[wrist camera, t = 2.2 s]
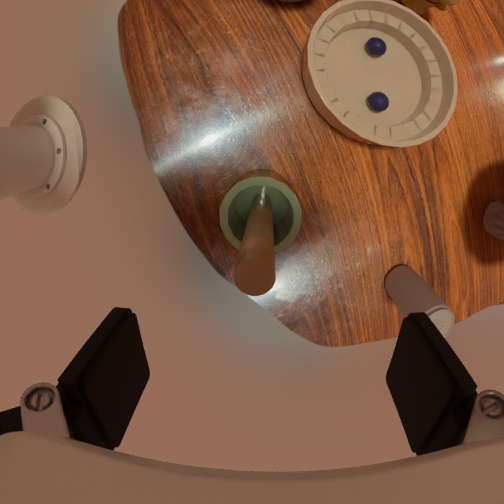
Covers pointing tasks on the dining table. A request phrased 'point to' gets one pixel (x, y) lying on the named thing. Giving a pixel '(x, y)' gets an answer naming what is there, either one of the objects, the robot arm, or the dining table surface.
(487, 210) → the decorative mushroom
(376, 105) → the berry
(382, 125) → the bowl
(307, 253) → the dining table surface
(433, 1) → the chocolate bunny
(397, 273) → the beverage can
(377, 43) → the berry
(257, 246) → the stick
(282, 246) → the crock
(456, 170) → the dining table surface
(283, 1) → the cup
